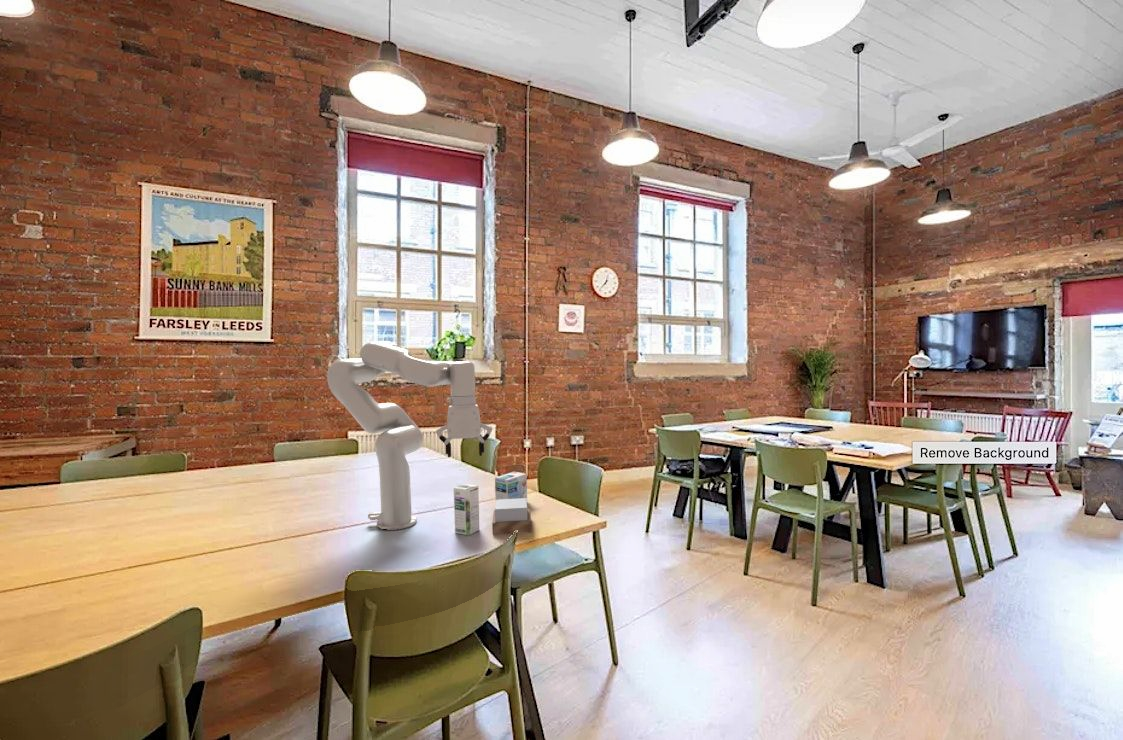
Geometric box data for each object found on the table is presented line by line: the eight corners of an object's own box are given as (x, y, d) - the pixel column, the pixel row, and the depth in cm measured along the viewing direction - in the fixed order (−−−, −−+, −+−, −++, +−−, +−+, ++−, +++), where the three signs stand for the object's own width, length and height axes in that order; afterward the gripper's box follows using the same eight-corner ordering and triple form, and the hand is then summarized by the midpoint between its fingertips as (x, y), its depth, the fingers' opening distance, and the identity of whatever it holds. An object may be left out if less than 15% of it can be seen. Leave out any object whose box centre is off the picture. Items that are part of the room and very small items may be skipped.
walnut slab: (492, 536, 153) (492, 523, 153) (494, 522, 165) (493, 510, 165) (531, 533, 154) (531, 521, 154) (530, 520, 166) (529, 508, 166)
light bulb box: (508, 509, 176) (507, 479, 176) (494, 506, 180) (493, 477, 180) (528, 502, 185) (527, 473, 184) (514, 499, 189) (514, 471, 188)
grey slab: (495, 522, 154) (494, 509, 154) (496, 511, 164) (496, 499, 164) (527, 520, 155) (527, 507, 155) (526, 509, 165) (526, 498, 165)
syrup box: (454, 533, 155) (452, 487, 154) (466, 527, 160) (464, 482, 160) (468, 536, 152) (467, 489, 152) (480, 529, 158) (478, 484, 157)
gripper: (433, 403, 150) (435, 459, 151) (491, 401, 152) (492, 457, 153) (436, 400, 157) (438, 454, 158) (491, 399, 159) (493, 451, 160)
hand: (465, 455), depth 155 cm, fingers open, 9 cm apart
